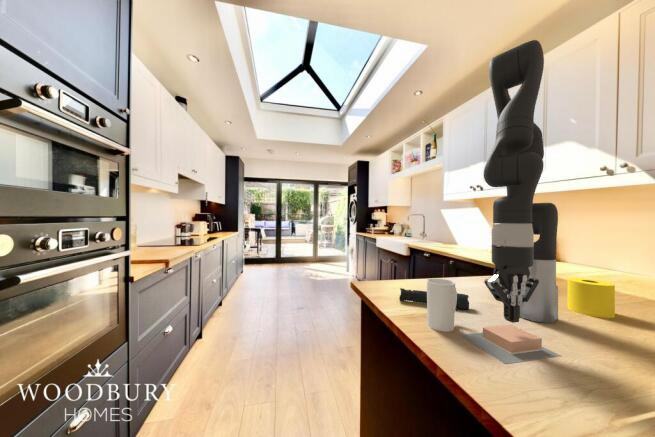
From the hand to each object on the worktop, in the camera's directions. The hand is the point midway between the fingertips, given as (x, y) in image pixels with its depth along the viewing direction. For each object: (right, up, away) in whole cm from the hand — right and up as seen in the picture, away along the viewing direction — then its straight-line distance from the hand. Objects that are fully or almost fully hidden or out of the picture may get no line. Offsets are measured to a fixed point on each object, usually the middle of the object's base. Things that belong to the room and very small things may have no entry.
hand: (511, 321), depth 55 cm
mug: (-10, -6, +10) cm, 15 cm away
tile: (-4, -4, -1) cm, 6 cm away
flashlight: (-6, -6, +26) cm, 27 cm away
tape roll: (+41, -6, +22) cm, 46 cm away
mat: (-1, -6, 0) cm, 6 cm away
